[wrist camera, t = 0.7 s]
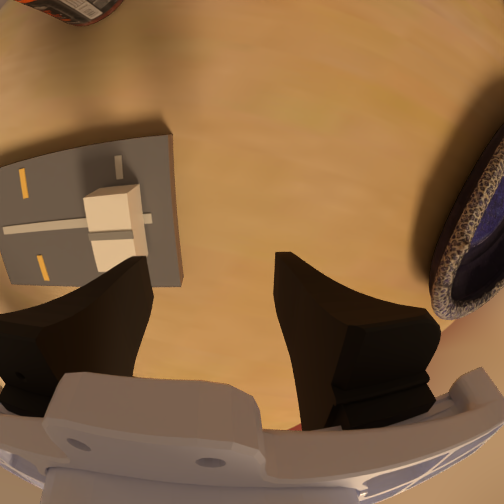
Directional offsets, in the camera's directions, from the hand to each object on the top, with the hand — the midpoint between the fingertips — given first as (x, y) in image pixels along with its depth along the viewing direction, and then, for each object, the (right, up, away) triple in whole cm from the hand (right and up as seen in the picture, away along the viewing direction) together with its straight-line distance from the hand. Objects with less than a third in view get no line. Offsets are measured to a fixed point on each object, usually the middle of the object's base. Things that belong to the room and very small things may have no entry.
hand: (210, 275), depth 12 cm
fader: (-7, +3, +6) cm, 10 cm away
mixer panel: (-13, +4, +8) cm, 15 cm away
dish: (+29, +8, +10) cm, 32 cm away
